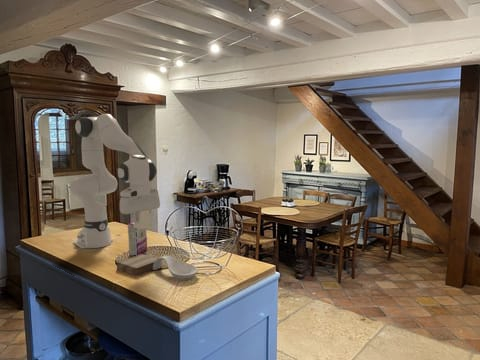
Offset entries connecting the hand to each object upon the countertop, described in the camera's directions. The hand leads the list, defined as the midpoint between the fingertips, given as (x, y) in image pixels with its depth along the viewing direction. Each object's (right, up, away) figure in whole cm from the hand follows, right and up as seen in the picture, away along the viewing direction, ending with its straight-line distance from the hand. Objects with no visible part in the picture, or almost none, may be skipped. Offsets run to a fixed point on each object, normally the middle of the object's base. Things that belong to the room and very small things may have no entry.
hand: (141, 220), depth 165 cm
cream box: (0, -3, 0) cm, 3 cm away
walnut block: (-1, -22, +1) cm, 22 cm away
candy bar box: (-8, -20, +24) cm, 32 cm away
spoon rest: (+16, -23, -7) cm, 29 cm away
